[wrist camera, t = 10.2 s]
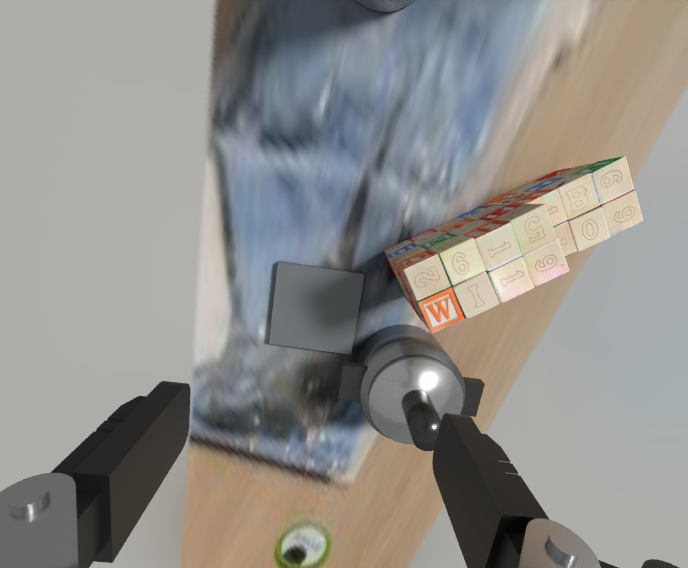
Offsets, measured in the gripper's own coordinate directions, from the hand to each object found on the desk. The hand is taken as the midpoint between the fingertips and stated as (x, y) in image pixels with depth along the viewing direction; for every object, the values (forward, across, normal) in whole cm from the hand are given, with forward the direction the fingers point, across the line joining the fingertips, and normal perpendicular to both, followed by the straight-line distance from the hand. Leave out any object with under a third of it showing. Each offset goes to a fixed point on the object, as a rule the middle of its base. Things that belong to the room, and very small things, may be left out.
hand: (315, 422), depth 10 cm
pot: (+29, -10, +12) cm, 33 cm away
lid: (+22, -10, +12) cm, 27 cm away
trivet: (+29, +1, +6) cm, 30 cm away
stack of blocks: (+29, -16, -5) cm, 34 cm away
